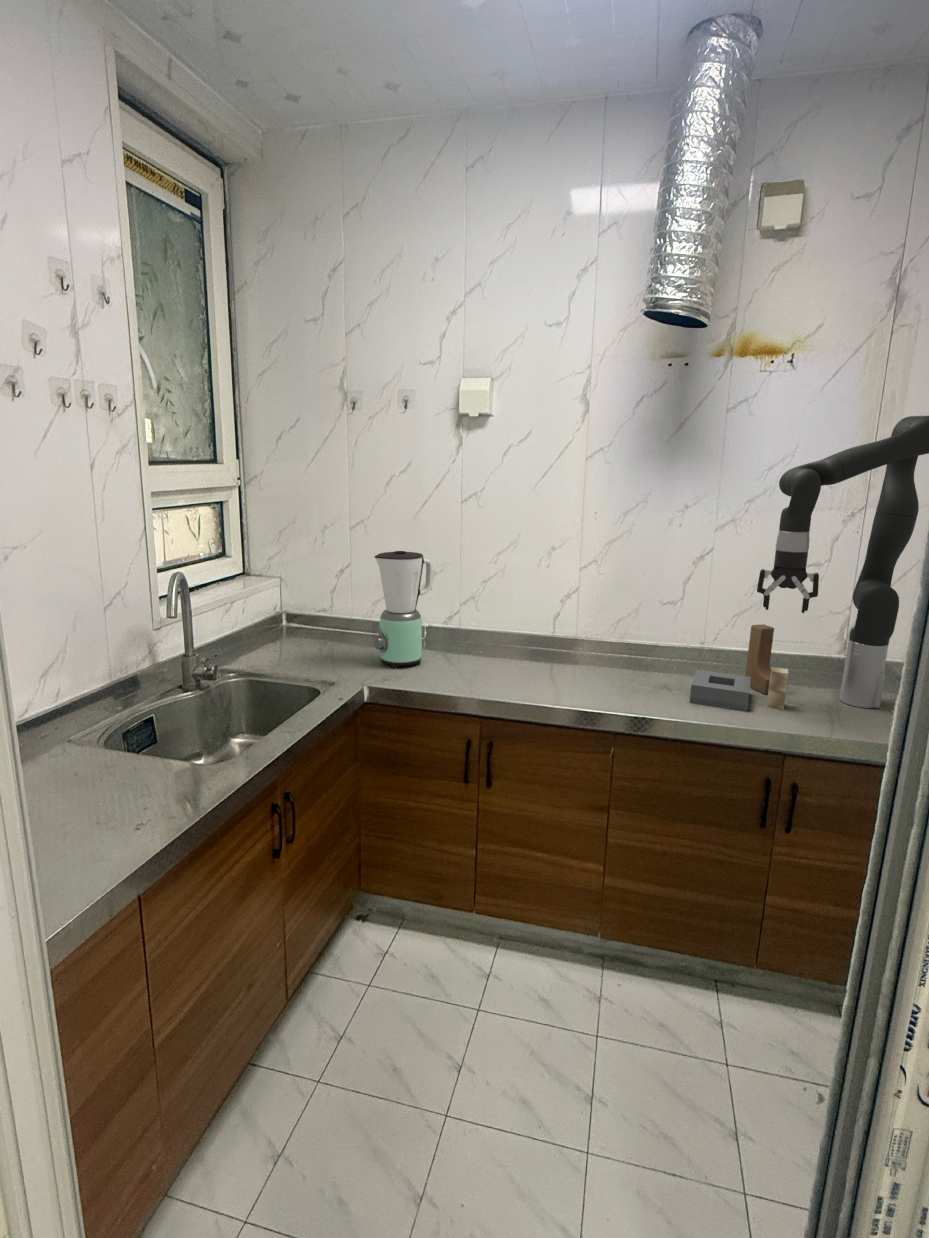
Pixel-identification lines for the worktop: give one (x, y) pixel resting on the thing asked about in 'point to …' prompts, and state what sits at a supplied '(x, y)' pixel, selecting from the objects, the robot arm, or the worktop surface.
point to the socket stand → (720, 690)
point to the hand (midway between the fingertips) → (784, 610)
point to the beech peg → (777, 688)
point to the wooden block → (760, 657)
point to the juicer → (401, 607)
